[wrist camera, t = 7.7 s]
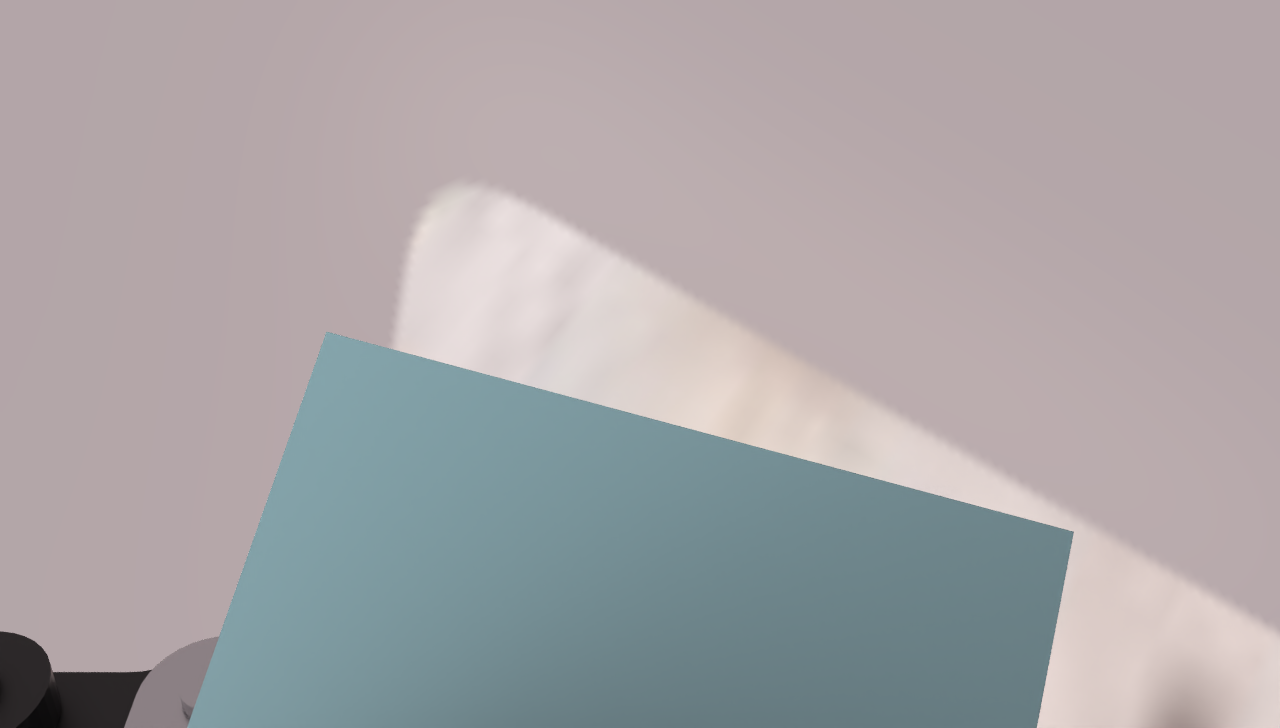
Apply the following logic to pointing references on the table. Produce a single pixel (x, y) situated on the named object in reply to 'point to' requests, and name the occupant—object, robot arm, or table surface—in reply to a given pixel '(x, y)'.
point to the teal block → (609, 575)
